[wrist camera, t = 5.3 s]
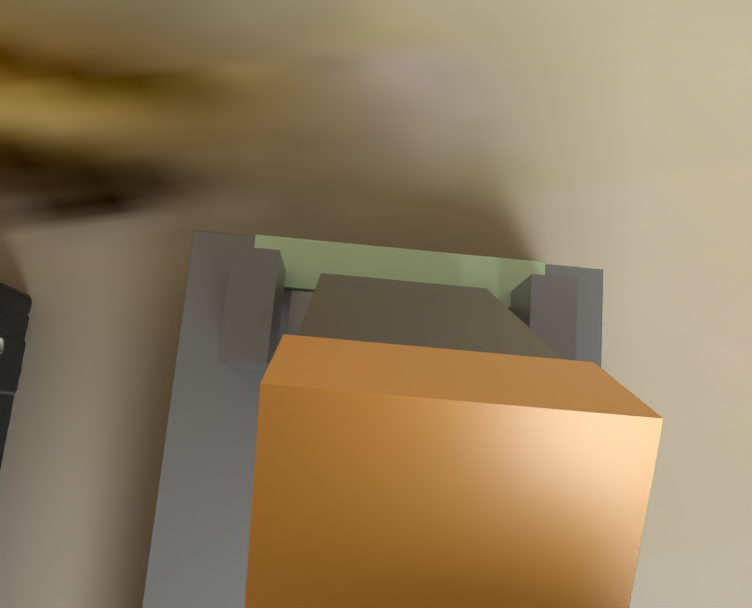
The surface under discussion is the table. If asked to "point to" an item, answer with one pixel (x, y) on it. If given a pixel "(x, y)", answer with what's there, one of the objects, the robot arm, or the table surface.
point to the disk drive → (11, 350)
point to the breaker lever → (440, 459)
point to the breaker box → (251, 359)
